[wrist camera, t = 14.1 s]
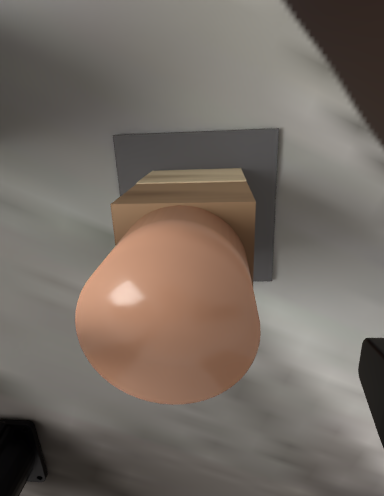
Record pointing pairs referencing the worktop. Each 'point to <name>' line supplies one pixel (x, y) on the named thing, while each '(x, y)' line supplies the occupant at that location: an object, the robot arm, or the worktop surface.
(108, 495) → the worktop surface
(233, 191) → the walnut cube
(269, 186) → the pad
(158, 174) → the maple cube
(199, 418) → the worktop surface
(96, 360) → the peach rounded piece
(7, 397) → the worktop surface
